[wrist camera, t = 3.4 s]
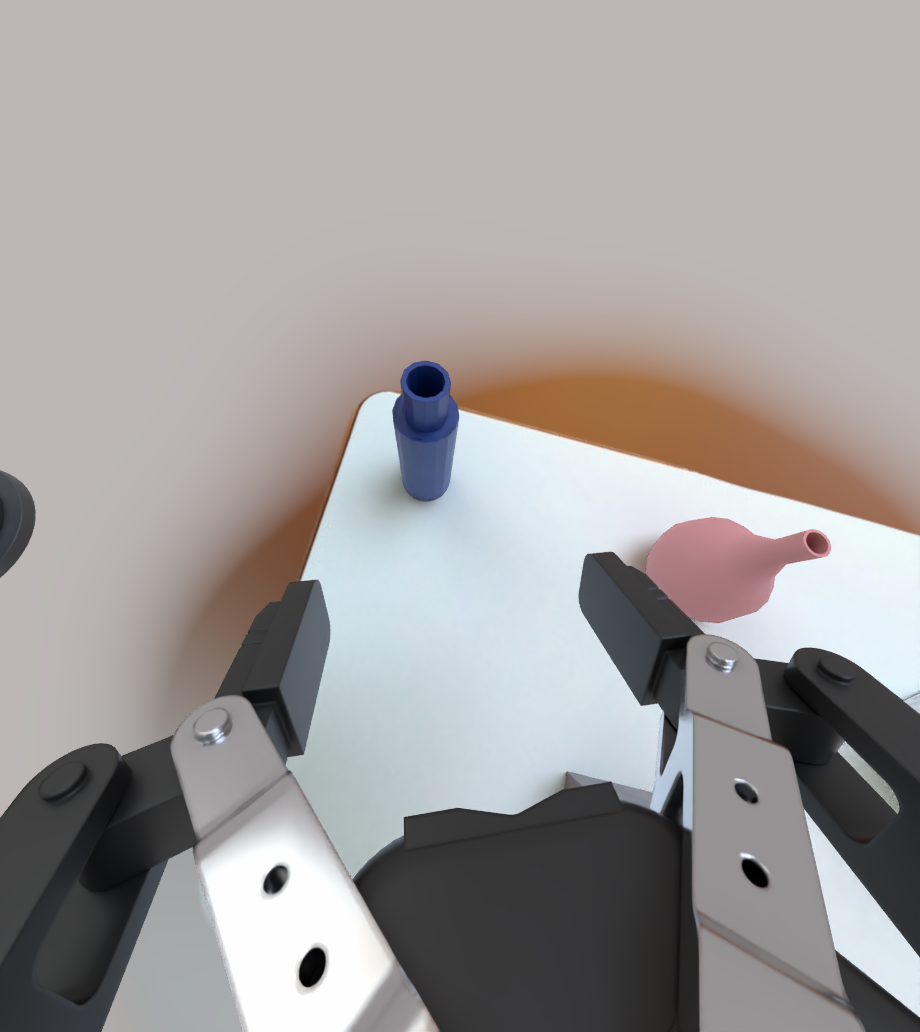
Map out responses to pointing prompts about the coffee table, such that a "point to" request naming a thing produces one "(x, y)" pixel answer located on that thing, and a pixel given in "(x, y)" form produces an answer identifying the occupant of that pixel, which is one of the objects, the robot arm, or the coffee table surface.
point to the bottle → (425, 429)
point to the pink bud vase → (724, 566)
